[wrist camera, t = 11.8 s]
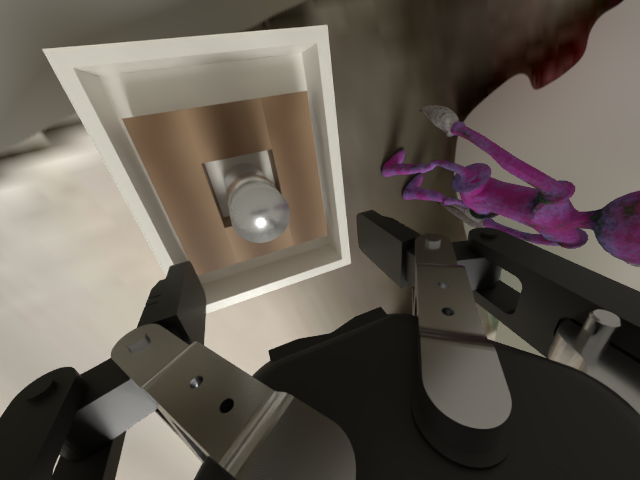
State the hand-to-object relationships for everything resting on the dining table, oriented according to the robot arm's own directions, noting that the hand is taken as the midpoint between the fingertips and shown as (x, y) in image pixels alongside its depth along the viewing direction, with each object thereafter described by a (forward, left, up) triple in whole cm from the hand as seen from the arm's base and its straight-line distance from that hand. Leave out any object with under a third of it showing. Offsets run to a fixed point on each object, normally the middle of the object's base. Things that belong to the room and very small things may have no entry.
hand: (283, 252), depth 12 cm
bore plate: (0, 0, -17) cm, 17 cm away
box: (0, 0, -17) cm, 17 cm away
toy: (-21, +3, -17) cm, 27 cm away
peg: (0, 0, -16) cm, 16 cm away
